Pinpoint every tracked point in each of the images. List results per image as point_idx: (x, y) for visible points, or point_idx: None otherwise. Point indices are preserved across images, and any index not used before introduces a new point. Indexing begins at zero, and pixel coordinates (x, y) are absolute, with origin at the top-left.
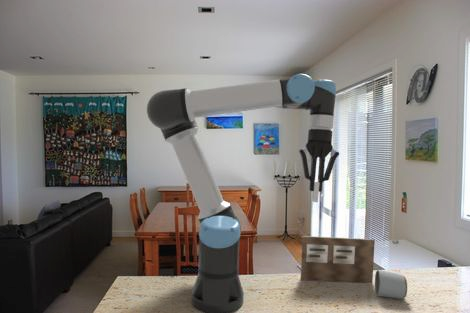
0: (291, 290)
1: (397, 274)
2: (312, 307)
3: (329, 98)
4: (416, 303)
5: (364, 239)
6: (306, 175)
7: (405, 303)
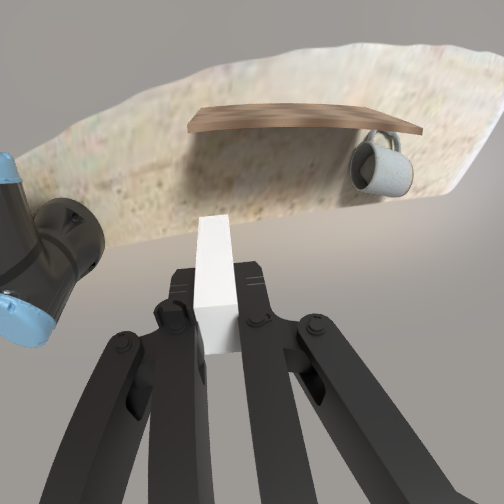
0: (177, 169)
1: (402, 184)
2: None
3: None
4: None
5: (397, 131)
6: (133, 394)
7: None
